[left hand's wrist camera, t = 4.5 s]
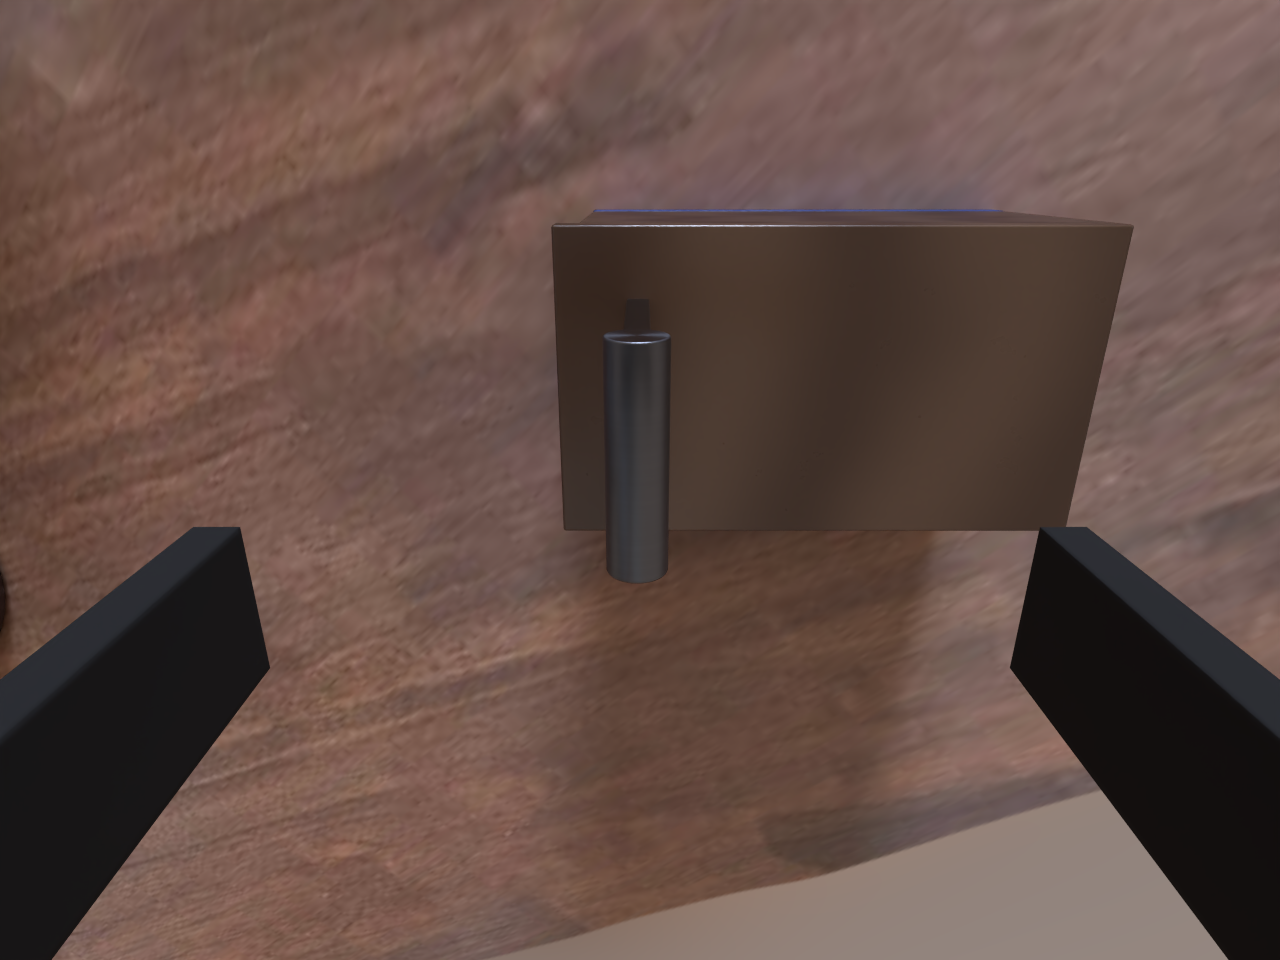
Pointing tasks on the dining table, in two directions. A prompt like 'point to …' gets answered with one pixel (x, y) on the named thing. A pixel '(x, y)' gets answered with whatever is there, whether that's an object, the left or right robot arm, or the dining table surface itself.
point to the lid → (825, 376)
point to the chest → (822, 216)
